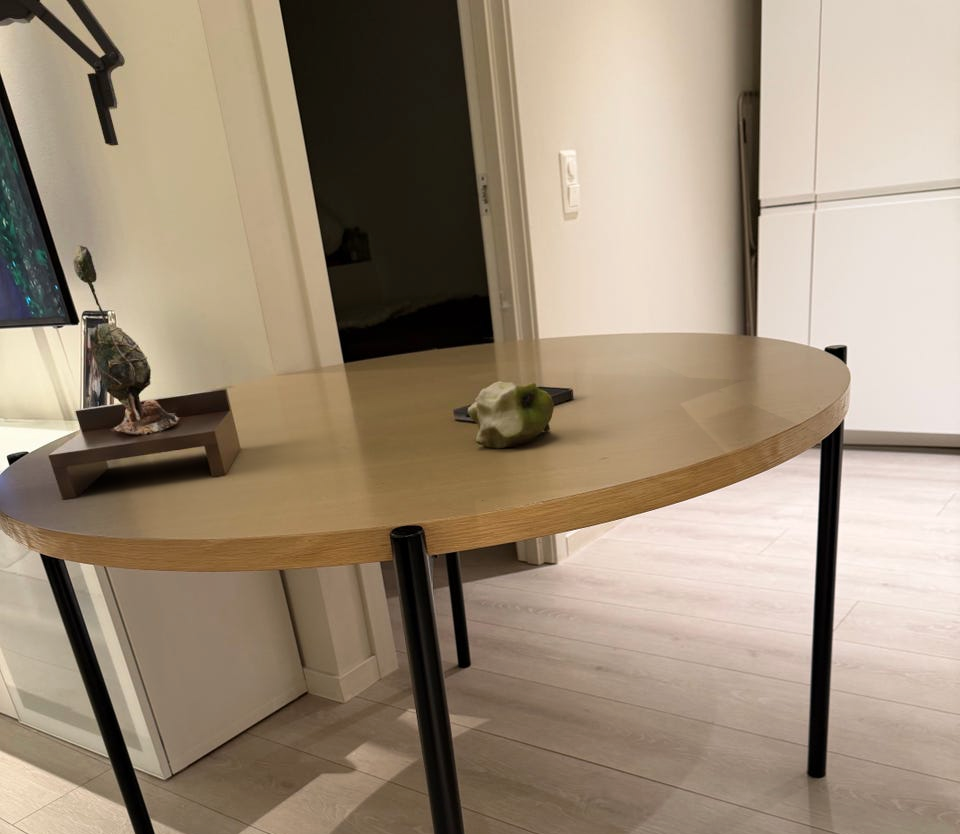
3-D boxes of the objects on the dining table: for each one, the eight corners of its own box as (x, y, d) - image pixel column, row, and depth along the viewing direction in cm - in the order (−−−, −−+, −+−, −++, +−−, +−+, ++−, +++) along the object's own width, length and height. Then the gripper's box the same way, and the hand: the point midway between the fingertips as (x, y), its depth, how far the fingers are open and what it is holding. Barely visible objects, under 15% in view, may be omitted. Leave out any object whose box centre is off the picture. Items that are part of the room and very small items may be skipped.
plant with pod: (94, 445, 98) (33, 249, 90) (126, 424, 108) (74, 247, 100) (167, 435, 98) (113, 238, 89) (192, 416, 108) (145, 237, 100)
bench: (62, 499, 98) (40, 432, 95) (96, 469, 111) (77, 409, 108) (225, 475, 99) (208, 407, 96) (240, 448, 112) (226, 388, 109)
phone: (576, 388, 114) (490, 414, 106) (577, 397, 115) (491, 423, 106) (533, 386, 120) (448, 410, 111) (534, 394, 120) (450, 419, 112)
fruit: (563, 456, 94) (550, 384, 89) (476, 474, 95) (460, 403, 90) (555, 422, 101) (543, 353, 96) (475, 438, 102) (460, 371, 97)
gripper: (116, -90, 93) (170, 141, 102) (-130, -63, 91) (-53, 168, 100) (96, -116, 86) (156, 134, 95) (-169, -88, 84) (-83, 163, 93)
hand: (49, 152), depth 98 cm, fingers open, 13 cm apart
